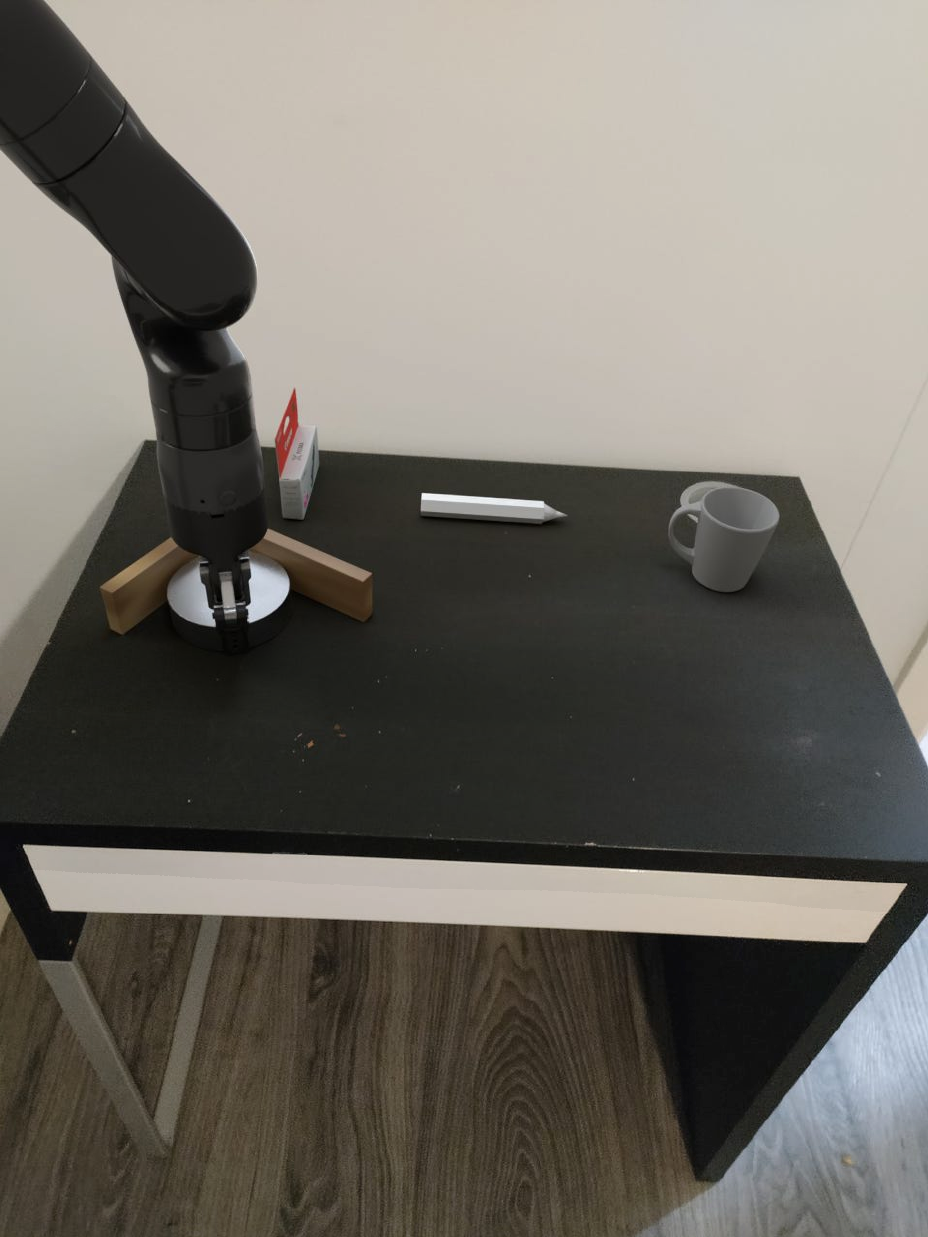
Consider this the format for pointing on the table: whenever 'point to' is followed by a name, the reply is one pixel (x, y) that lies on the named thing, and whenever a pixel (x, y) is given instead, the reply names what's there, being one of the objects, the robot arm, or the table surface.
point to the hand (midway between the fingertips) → (236, 649)
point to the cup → (727, 536)
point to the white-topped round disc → (264, 610)
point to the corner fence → (305, 566)
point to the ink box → (296, 462)
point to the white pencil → (487, 508)
